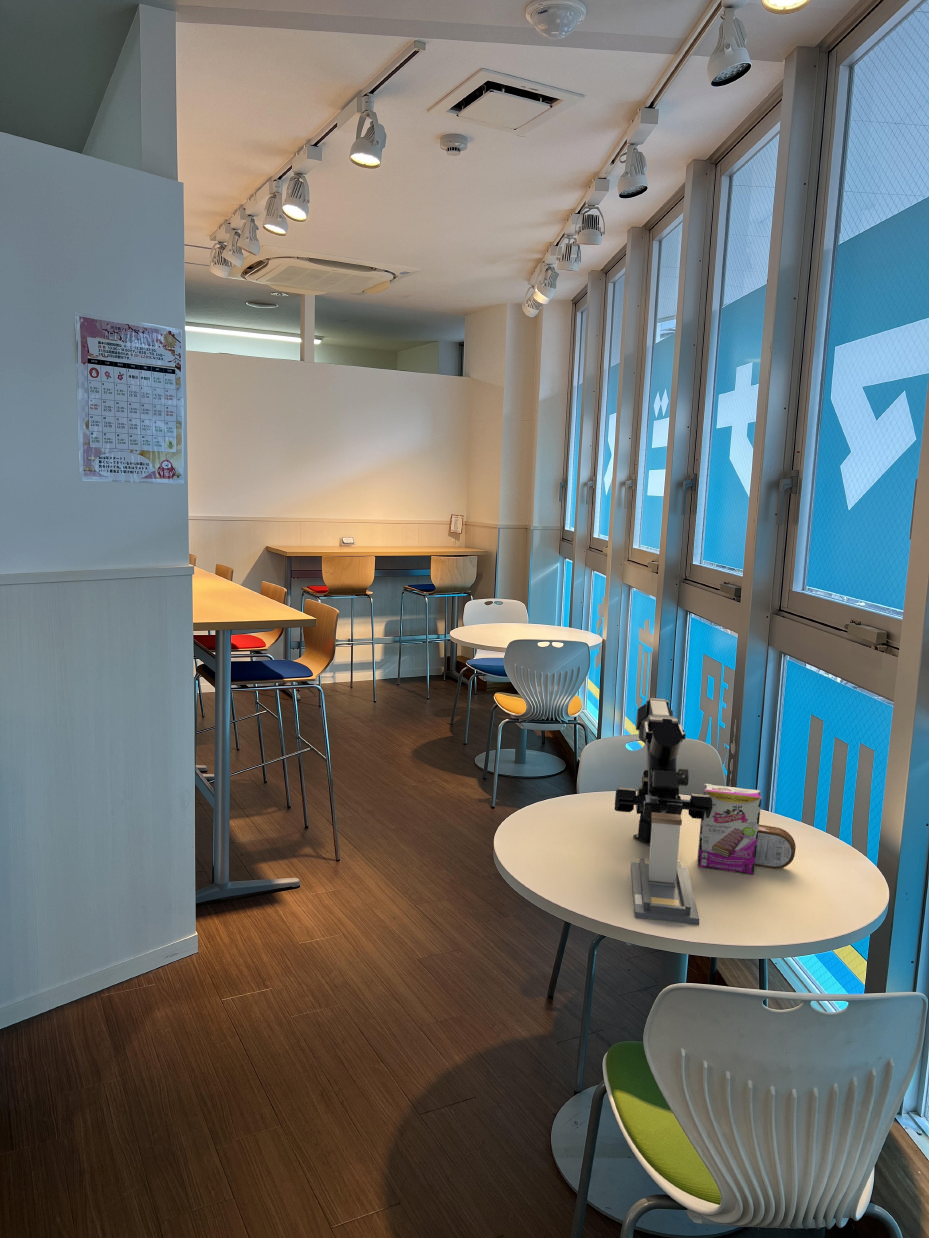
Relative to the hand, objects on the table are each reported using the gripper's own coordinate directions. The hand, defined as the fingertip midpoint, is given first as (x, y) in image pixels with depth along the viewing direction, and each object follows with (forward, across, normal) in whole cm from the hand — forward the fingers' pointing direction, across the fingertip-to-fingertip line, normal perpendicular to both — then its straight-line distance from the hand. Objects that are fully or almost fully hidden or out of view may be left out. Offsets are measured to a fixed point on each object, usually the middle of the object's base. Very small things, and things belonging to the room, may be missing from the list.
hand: (662, 843), depth 166 cm
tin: (-3, +20, +14) cm, 24 cm away
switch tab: (+7, 0, +1) cm, 7 cm away
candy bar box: (-1, +14, +12) cm, 18 cm away
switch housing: (+10, 0, 0) cm, 10 cm away
